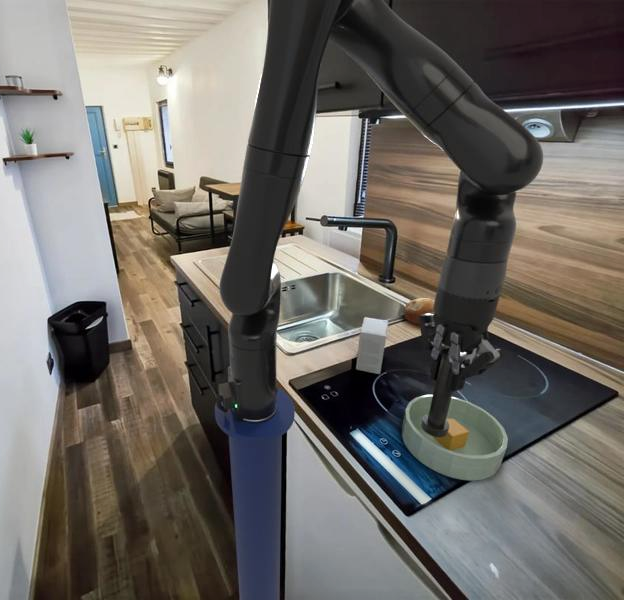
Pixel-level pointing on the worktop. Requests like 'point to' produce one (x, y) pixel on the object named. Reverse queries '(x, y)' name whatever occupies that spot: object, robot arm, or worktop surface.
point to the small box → (371, 345)
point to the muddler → (439, 402)
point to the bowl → (463, 461)
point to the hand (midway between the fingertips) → (445, 383)
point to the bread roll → (418, 309)
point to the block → (454, 436)
